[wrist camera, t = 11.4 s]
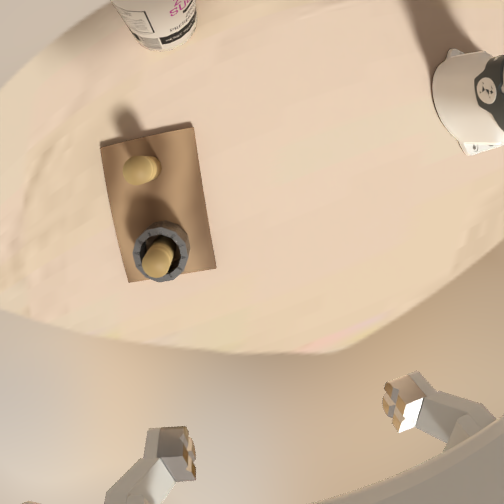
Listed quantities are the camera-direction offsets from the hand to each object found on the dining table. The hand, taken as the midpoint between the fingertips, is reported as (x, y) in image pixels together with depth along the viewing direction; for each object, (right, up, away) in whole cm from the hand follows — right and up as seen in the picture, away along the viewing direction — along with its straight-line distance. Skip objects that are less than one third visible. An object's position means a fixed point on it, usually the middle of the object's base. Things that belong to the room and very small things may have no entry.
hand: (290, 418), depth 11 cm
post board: (-13, +12, +27) cm, 33 cm away
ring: (-12, +7, +28) cm, 31 cm away
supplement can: (-13, +36, +21) cm, 43 cm away
